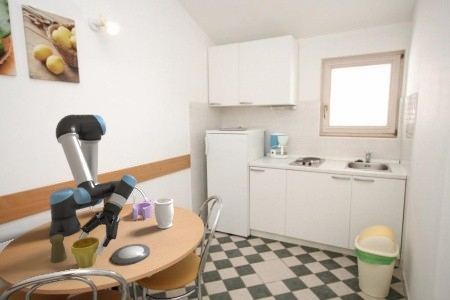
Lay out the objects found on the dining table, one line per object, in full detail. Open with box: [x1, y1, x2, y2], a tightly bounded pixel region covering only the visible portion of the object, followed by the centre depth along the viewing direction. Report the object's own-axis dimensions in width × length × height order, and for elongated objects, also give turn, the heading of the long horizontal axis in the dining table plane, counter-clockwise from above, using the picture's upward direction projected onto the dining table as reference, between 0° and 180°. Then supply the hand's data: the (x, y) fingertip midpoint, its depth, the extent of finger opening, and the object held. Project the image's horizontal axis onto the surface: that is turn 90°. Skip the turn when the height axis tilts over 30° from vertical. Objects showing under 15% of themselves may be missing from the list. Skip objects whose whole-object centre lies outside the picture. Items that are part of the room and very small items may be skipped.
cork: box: [49, 234, 68, 264], centre depth 114 cm, size 6×6×11 cm
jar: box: [153, 197, 175, 230], centre depth 148 cm, size 11×10×15 cm
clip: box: [131, 198, 155, 221], centre depth 169 cm, size 20×12×7 cm, turn 0°
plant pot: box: [70, 236, 100, 269], centre depth 110 cm, size 10×10×10 cm
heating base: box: [111, 243, 151, 266], centre depth 117 cm, size 16×16×1 cm
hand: (87, 250), depth 109 cm, fingers open, 13 cm apart
